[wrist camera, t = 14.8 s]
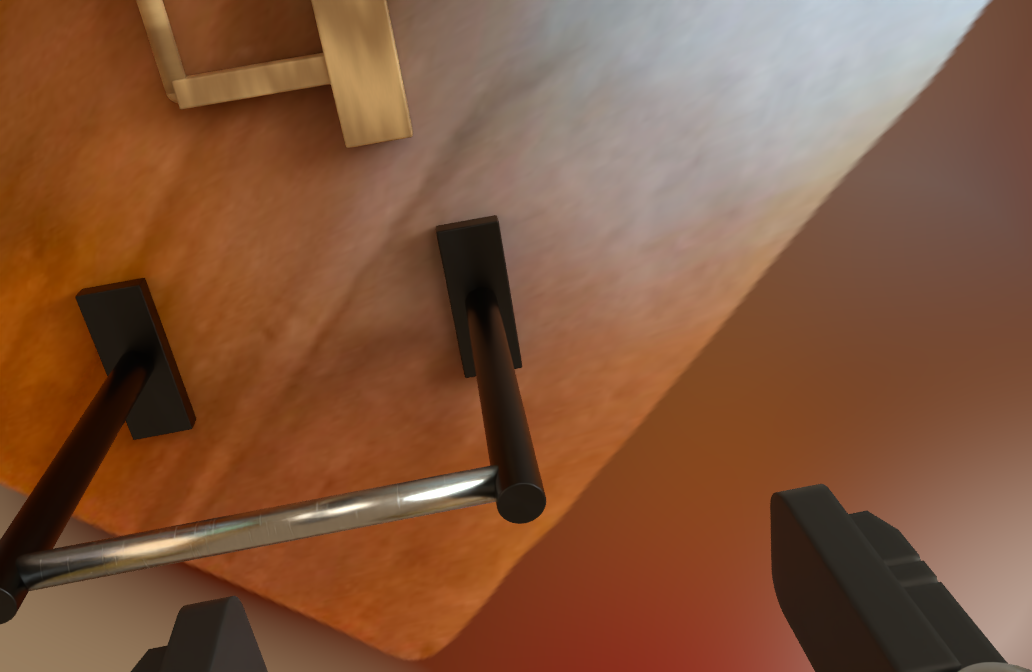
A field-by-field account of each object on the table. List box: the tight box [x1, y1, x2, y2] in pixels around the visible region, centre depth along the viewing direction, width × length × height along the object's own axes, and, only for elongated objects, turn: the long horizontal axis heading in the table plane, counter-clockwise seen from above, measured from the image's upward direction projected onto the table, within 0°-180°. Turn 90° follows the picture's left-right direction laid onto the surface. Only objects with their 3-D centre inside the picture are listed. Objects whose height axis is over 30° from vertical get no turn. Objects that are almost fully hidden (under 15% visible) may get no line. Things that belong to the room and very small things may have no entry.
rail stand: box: [0, 216, 546, 624], centre depth 35 cm, size 8×20×18 cm, turn 98°
